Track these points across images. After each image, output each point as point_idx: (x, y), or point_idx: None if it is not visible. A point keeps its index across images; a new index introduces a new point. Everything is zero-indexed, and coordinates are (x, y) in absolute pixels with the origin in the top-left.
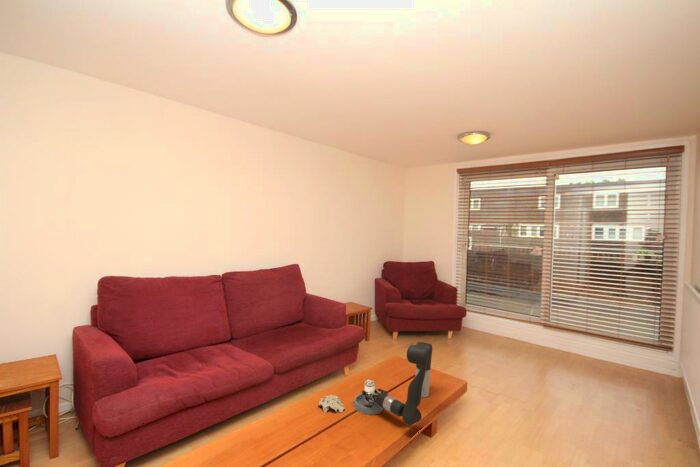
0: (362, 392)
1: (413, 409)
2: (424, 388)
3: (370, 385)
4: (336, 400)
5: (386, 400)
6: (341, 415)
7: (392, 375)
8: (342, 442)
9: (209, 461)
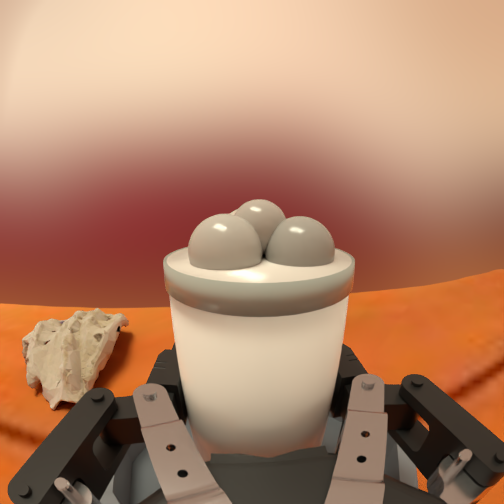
0: (162, 359)
1: None
2: None
3: (184, 279)
4: (64, 336)
5: None
6: (27, 416)
7: (501, 307)
8: None
9: None
